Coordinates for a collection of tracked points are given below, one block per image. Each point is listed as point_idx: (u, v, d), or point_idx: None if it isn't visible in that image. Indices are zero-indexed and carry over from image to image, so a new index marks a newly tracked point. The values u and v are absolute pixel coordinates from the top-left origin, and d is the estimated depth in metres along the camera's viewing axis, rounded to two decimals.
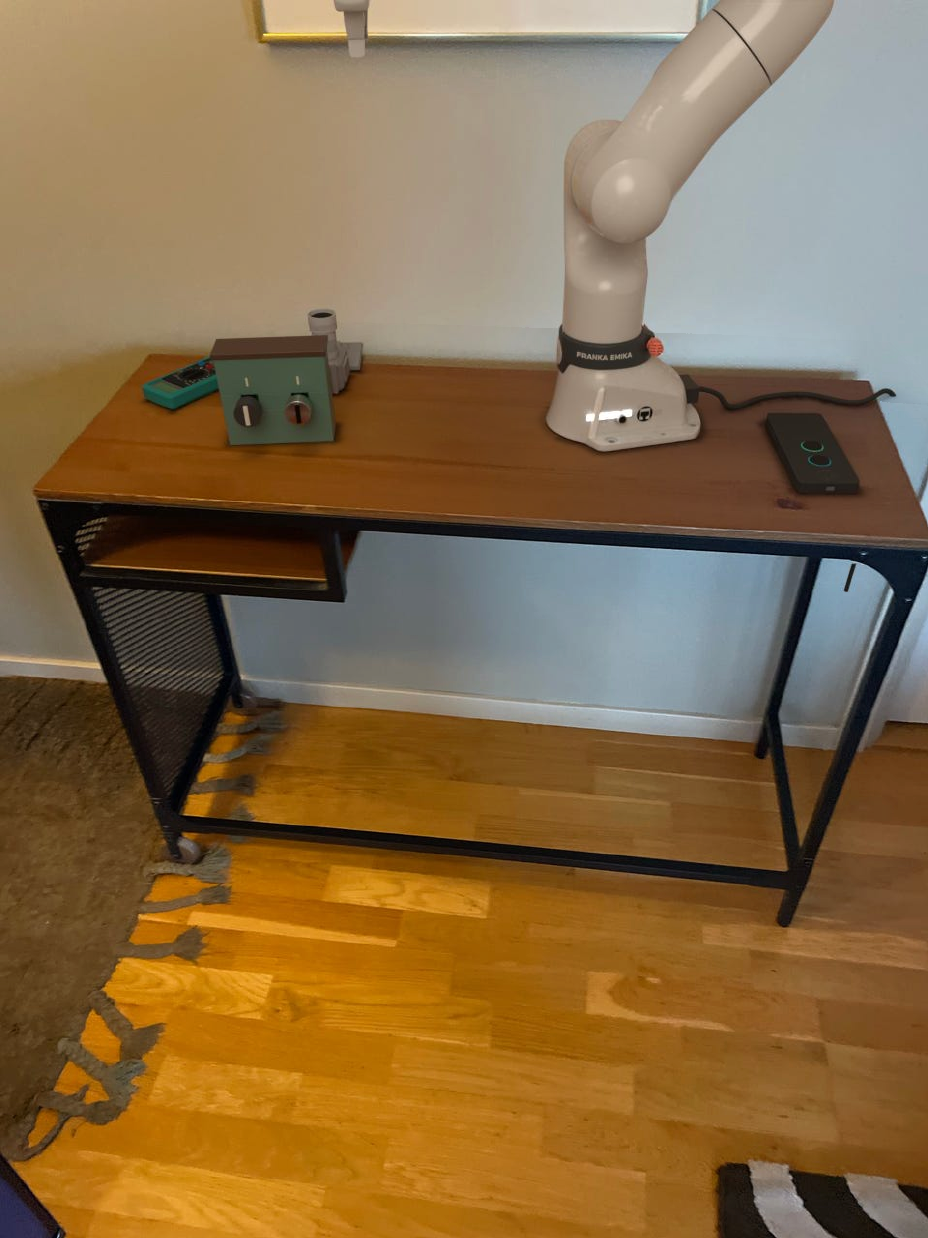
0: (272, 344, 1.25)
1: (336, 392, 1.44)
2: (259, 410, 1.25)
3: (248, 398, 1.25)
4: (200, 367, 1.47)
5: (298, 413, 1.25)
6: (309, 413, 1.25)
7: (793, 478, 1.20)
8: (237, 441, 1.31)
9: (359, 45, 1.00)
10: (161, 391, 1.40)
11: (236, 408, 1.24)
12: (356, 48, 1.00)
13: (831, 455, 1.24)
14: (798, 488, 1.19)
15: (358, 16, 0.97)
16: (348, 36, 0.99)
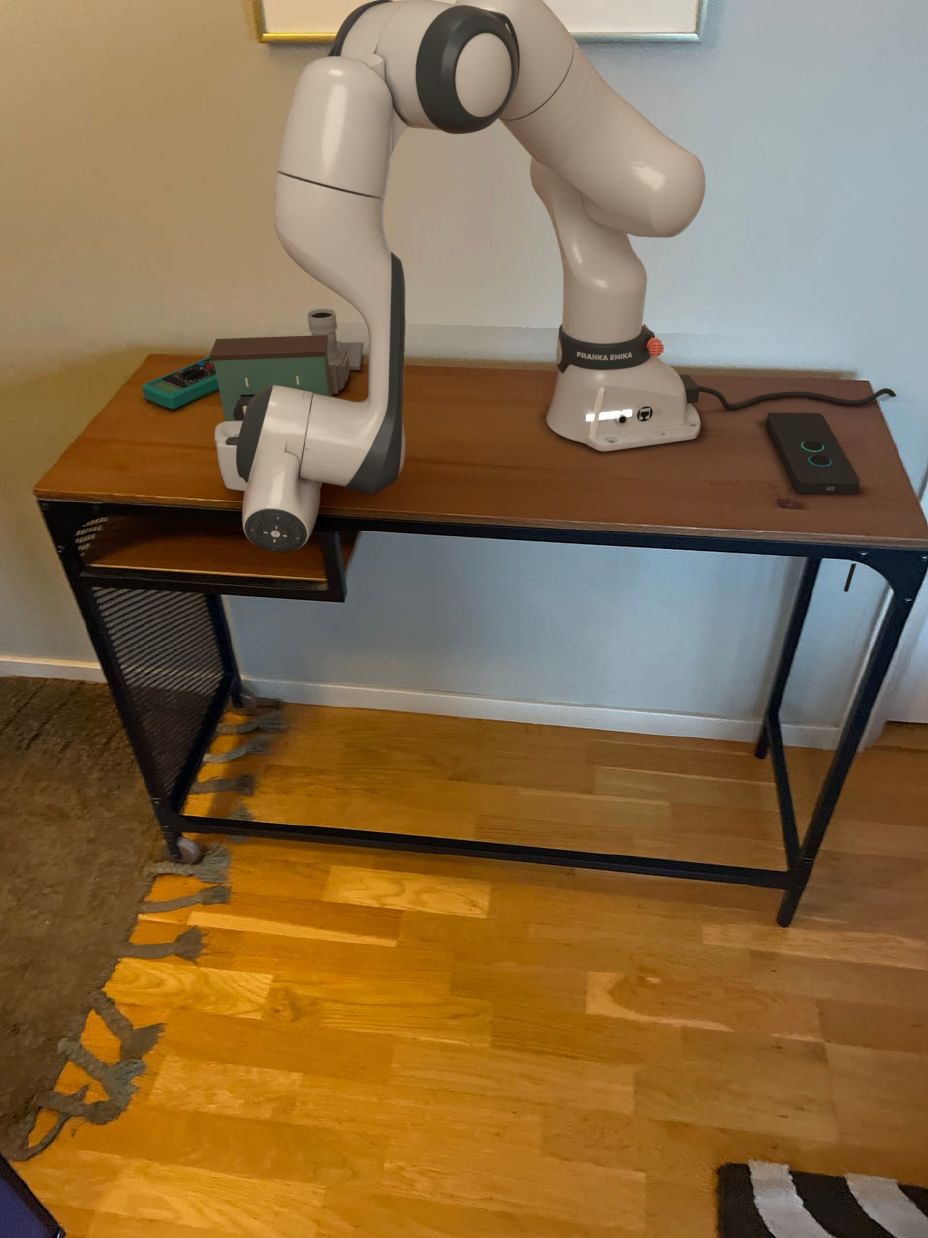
0: (272, 344, 1.25)
1: (336, 392, 1.44)
2: None
3: (248, 398, 1.25)
4: (200, 367, 1.47)
5: None
6: (309, 412, 1.25)
7: (793, 478, 1.20)
8: None
9: None
10: (161, 391, 1.40)
11: (236, 408, 1.24)
12: None
13: (831, 455, 1.24)
14: (798, 488, 1.19)
15: None
16: None
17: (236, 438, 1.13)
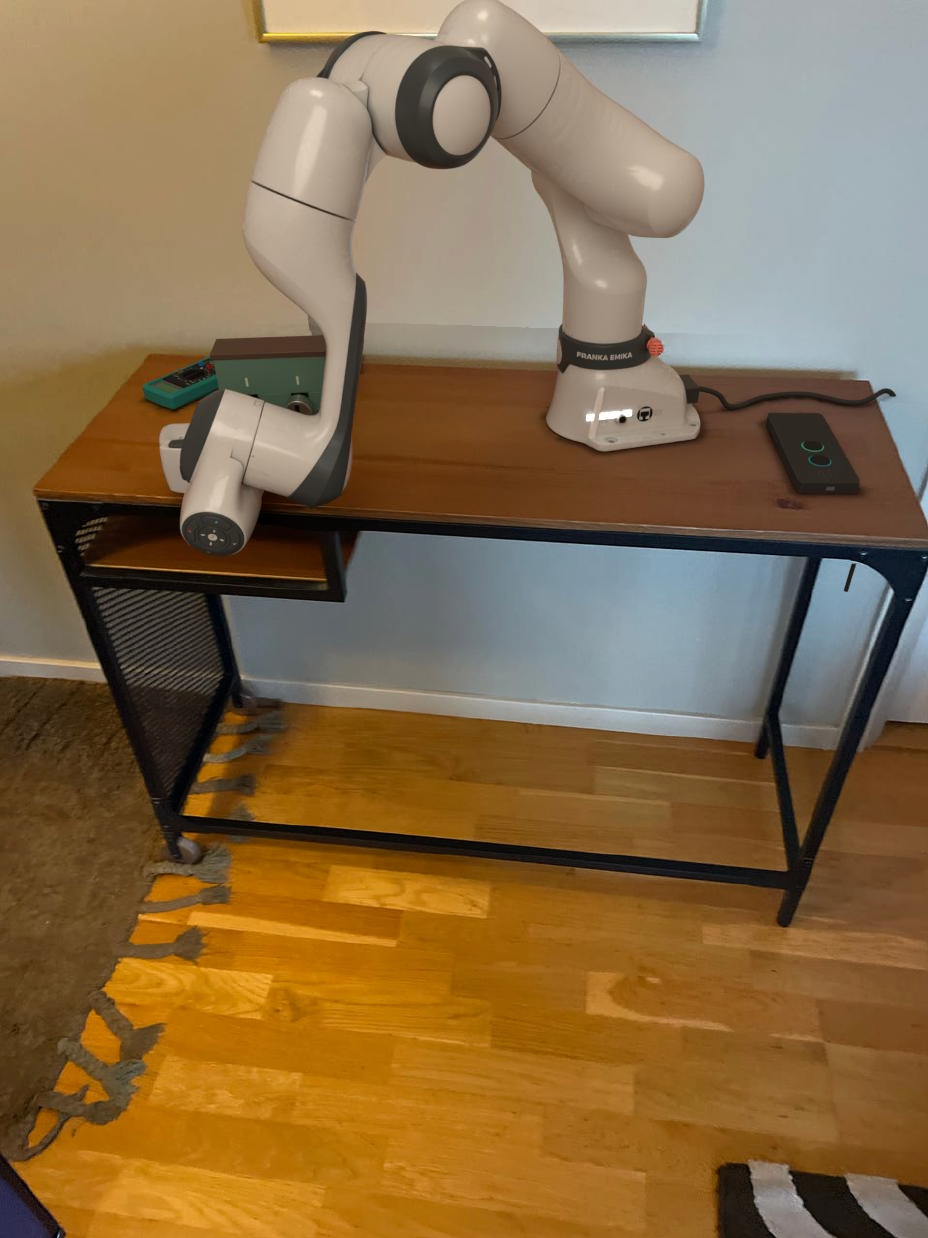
0: (272, 344, 1.25)
1: None
2: None
3: None
4: (200, 367, 1.47)
5: None
6: (309, 413, 1.25)
7: (793, 478, 1.20)
8: None
9: None
10: (161, 391, 1.40)
11: None
12: None
13: (831, 455, 1.24)
14: (798, 488, 1.19)
15: None
16: None
17: (179, 441, 1.13)
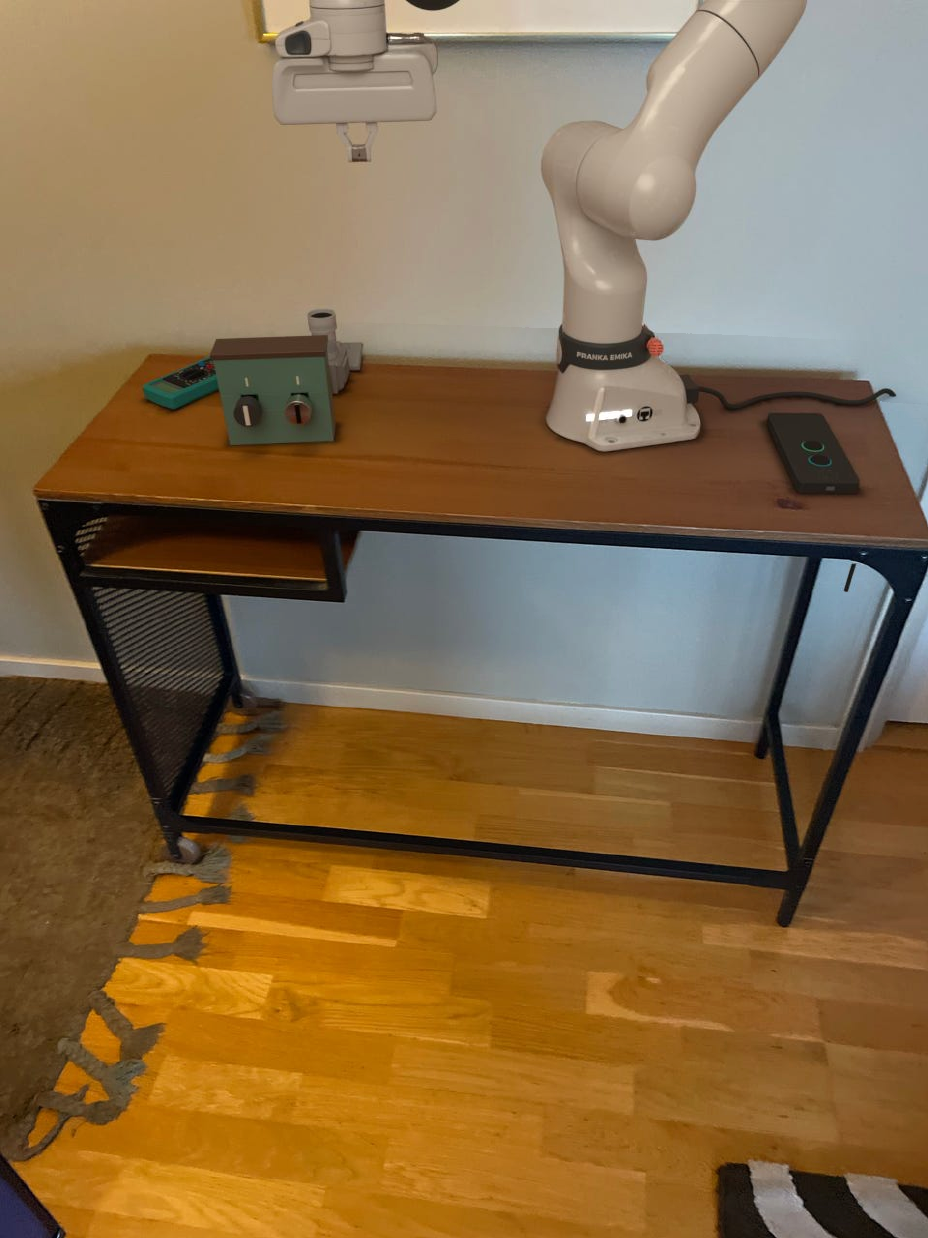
0: (272, 344, 1.25)
1: (336, 392, 1.44)
2: (259, 410, 1.25)
3: (248, 398, 1.25)
4: (200, 367, 1.47)
5: (298, 413, 1.25)
6: (309, 413, 1.25)
7: (794, 478, 1.20)
8: (237, 441, 1.31)
9: (370, 150, 1.17)
10: (162, 391, 1.40)
11: (236, 408, 1.24)
12: (370, 153, 1.17)
13: (832, 455, 1.24)
14: (798, 488, 1.19)
15: (377, 125, 1.15)
16: None
17: None
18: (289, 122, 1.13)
